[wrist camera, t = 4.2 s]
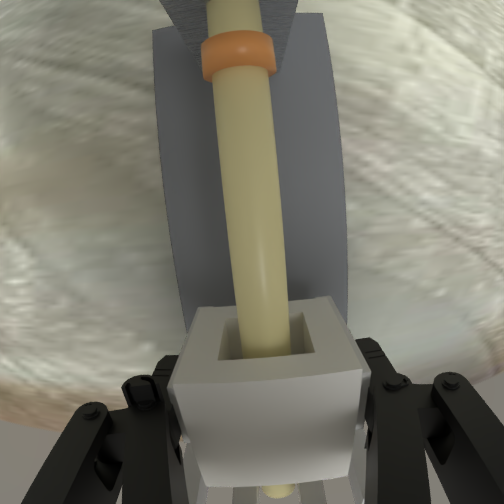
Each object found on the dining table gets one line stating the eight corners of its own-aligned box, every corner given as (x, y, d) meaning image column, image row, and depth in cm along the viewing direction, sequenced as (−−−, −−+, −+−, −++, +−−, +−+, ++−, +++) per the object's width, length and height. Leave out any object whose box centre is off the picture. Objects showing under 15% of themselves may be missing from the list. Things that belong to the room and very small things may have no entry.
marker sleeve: (200, 308, 13) (172, 383, 8) (326, 297, 13) (362, 368, 8) (218, 403, 14) (206, 486, 9) (325, 394, 14) (347, 475, 9)
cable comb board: (159, 38, 17) (63, -72, 4) (318, 22, 16) (380, -108, 4) (204, 384, 22) (172, 529, 10) (339, 372, 22) (389, 513, 10)
